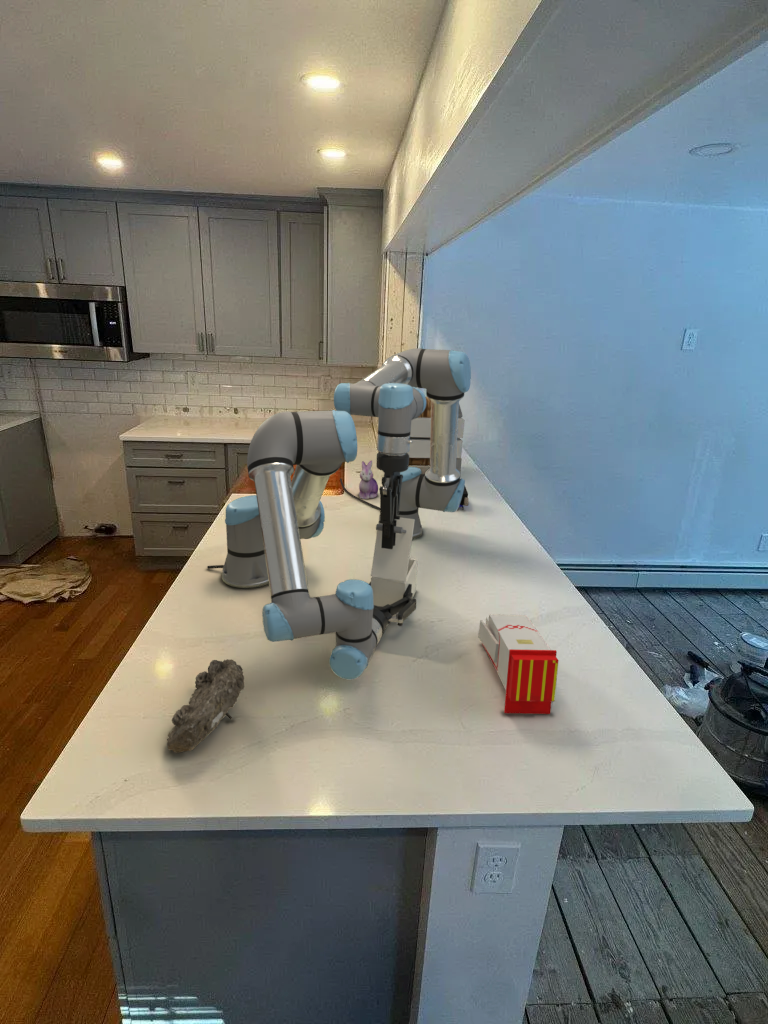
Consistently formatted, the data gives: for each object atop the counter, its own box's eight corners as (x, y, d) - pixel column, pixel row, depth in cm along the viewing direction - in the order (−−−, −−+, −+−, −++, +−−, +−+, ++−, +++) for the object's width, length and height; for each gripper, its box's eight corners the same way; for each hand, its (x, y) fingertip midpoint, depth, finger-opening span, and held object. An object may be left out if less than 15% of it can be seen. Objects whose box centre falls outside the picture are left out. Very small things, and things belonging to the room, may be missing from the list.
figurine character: (468, 514, 225) (463, 498, 239) (470, 497, 222) (465, 482, 235) (451, 514, 225) (447, 498, 238) (453, 497, 222) (449, 481, 235)
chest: (384, 585, 162) (386, 554, 158) (416, 591, 159) (418, 559, 156) (369, 611, 148) (370, 578, 144) (403, 617, 146) (405, 583, 142)
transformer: (382, 463, 289) (386, 382, 275) (445, 464, 293) (451, 384, 279) (390, 482, 257) (394, 392, 243) (460, 483, 261) (468, 394, 247)
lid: (380, 514, 146) (372, 512, 138) (414, 519, 143) (409, 517, 136) (371, 576, 145) (363, 577, 137) (406, 581, 143) (399, 583, 135)
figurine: (363, 500, 232) (364, 465, 227) (352, 493, 240) (353, 459, 235) (383, 498, 236) (385, 463, 231) (372, 491, 244) (373, 457, 239)
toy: (524, 600, 137) (567, 656, 108) (520, 651, 140) (560, 720, 111) (474, 599, 137) (504, 655, 107) (471, 650, 140) (498, 719, 110)
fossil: (192, 660, 117) (244, 628, 112) (224, 691, 120) (276, 661, 115) (142, 746, 98) (202, 712, 93) (182, 779, 101) (242, 748, 96)
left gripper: (321, 634, 132) (352, 591, 153) (413, 651, 127) (431, 605, 147) (321, 606, 129) (352, 566, 150) (415, 622, 124) (433, 579, 145)
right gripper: (401, 461, 123) (395, 560, 131) (415, 447, 137) (409, 537, 145) (368, 457, 125) (365, 555, 133) (385, 444, 138) (381, 533, 146)
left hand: (391, 585), depth 149 cm, fingers closed on chest, 9 cm apart
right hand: (388, 546), depth 139 cm, fingers closed on lid, 2 cm apart
